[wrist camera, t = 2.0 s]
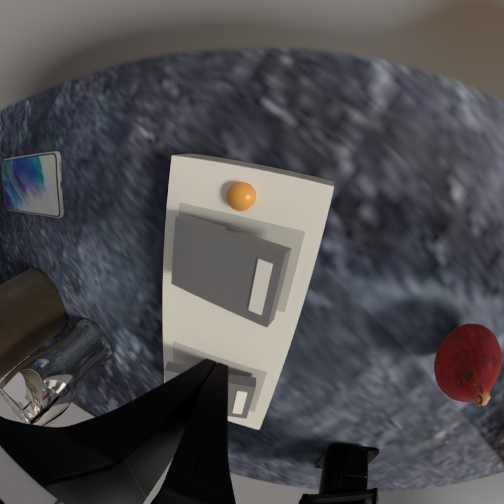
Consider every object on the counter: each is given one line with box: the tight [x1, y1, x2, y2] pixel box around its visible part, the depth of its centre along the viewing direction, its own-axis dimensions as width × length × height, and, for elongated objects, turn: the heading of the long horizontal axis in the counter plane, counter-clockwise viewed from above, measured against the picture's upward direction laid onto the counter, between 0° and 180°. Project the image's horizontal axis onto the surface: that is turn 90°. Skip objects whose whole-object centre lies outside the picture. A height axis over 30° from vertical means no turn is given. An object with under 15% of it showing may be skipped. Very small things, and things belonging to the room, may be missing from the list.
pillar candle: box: [0, 268, 66, 379], centre depth 25 cm, size 10×10×15 cm
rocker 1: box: [171, 214, 292, 327], centre depth 17 cm, size 5×7×2 cm, turn 81°
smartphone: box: [2, 151, 64, 218], centre depth 25 cm, size 7×1×15 cm
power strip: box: [163, 154, 334, 430], centre depth 23 cm, size 30×10×4 cm, turn 171°
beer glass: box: [0, 319, 113, 427], centre depth 24 cm, size 7×7×15 cm
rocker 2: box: [164, 361, 256, 419], centre depth 21 cm, size 5×7×2 cm, turn 81°
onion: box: [434, 324, 502, 406], centre depth 15 cm, size 6×6×8 cm
